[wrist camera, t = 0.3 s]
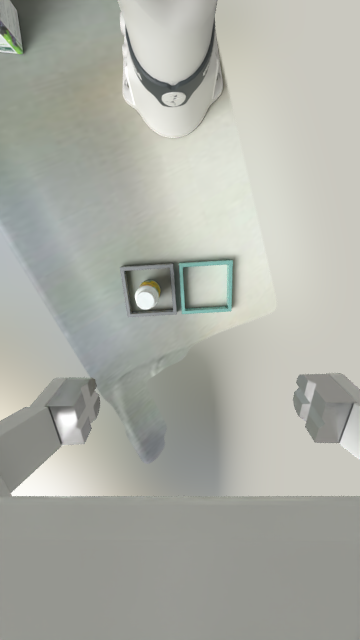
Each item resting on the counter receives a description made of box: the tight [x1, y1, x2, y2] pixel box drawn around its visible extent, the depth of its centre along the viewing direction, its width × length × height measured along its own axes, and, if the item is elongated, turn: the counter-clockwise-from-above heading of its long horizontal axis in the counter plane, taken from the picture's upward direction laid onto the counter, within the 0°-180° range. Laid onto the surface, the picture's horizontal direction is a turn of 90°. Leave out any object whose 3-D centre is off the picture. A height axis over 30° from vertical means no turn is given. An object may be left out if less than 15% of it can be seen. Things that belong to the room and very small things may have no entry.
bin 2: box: [179, 260, 233, 314], centre depth 55 cm, size 13×13×2 cm
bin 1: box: [120, 263, 177, 317], centre depth 55 cm, size 13×13×2 cm
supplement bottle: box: [135, 280, 160, 310], centre depth 52 cm, size 5×5×10 cm
